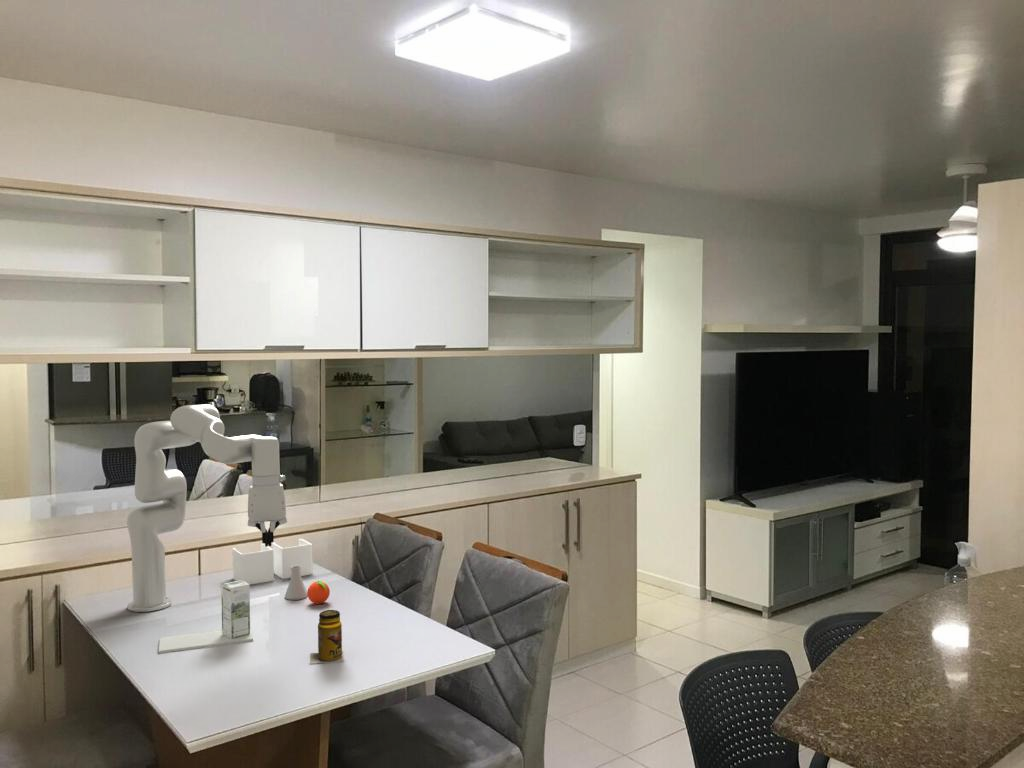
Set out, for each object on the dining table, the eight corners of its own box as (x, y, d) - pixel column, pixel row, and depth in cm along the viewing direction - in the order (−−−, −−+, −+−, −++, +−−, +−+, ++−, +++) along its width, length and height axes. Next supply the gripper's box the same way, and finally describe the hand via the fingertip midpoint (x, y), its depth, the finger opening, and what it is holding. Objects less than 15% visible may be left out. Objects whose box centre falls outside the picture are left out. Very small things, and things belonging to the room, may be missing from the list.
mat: (160, 639, 233) (160, 637, 233) (250, 628, 242) (250, 626, 242) (158, 653, 223) (158, 650, 223) (253, 641, 231) (253, 638, 231)
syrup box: (240, 629, 239) (239, 579, 239) (251, 634, 235) (249, 583, 234) (221, 634, 235) (220, 583, 235) (231, 639, 231) (230, 587, 230)
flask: (280, 599, 270) (279, 568, 270) (294, 593, 277) (293, 563, 276) (298, 601, 267) (298, 570, 267) (312, 595, 274) (311, 565, 274)
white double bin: (242, 586, 286) (241, 554, 286) (233, 579, 295) (232, 548, 295) (312, 574, 300) (312, 544, 300) (301, 568, 309) (301, 538, 309)
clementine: (336, 603, 265) (335, 581, 264) (317, 608, 260) (317, 586, 259) (321, 598, 270) (321, 576, 270) (303, 603, 265) (302, 581, 265)
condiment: (343, 661, 216) (343, 615, 215) (309, 664, 214) (309, 618, 213) (343, 651, 223) (342, 607, 222) (310, 654, 221) (309, 609, 220)
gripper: (292, 477, 243) (293, 540, 243) (237, 480, 237) (239, 545, 238) (295, 480, 236) (296, 545, 236) (239, 484, 230) (241, 551, 231)
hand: (268, 545), depth 237 cm, fingers closed
